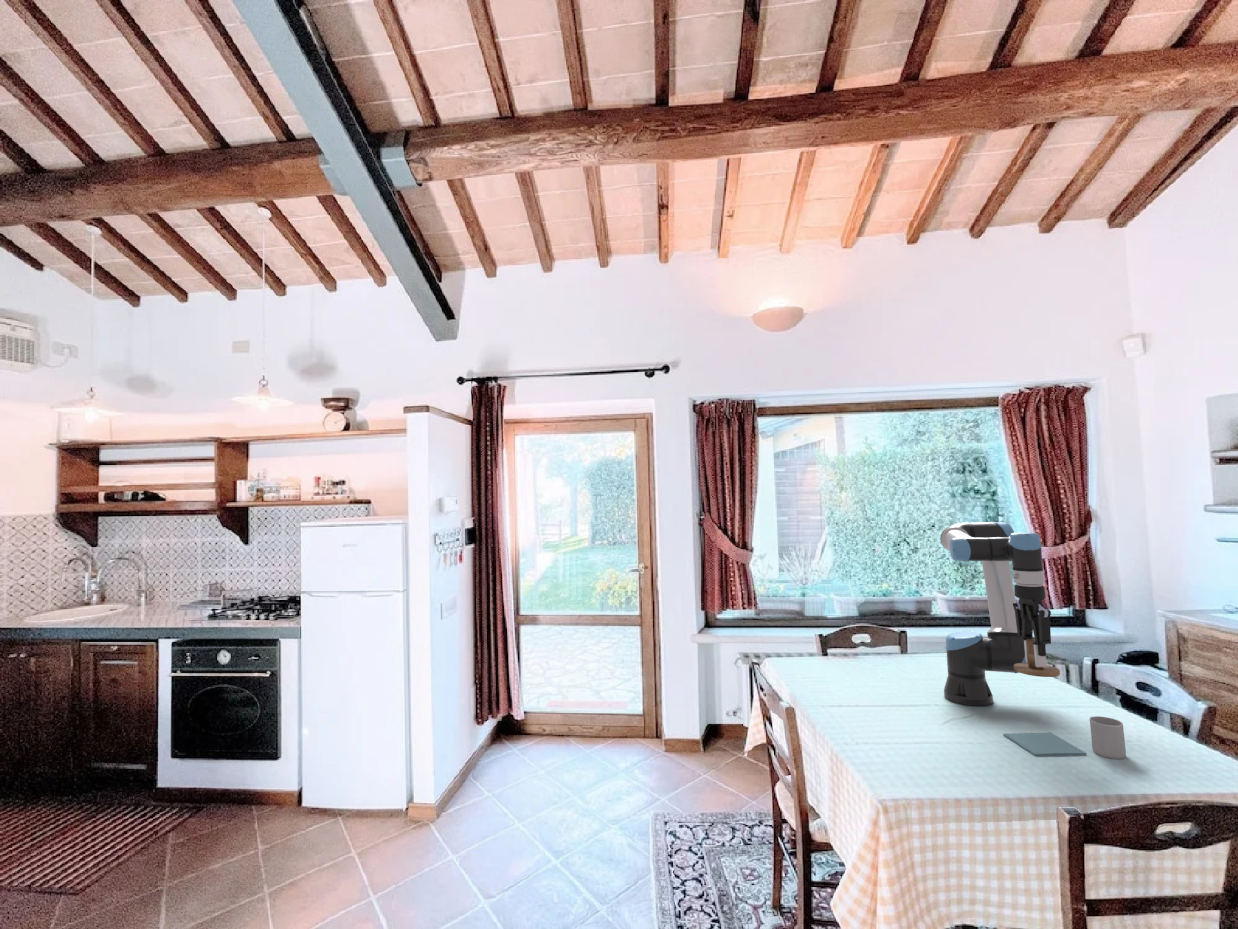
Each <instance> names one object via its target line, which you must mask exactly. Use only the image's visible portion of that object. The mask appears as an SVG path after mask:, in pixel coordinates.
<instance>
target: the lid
mask: <svg viewBox="0 0 1238 929" xmlns="http://www.w3.org/2000/svg"><path fill="white" fill-rule="evenodd" d="M1026 642H1027V653H1028V663H1016V664H1014V670H1015V671H1017V672H1019V673H1018V674H1022V675H1023V674H1024V675H1027V676H1032V677H1041V678H1053V677H1058V676H1060V675H1061V672H1060V671H1061V670H1060V669H1059V668H1058V667H1056V666H1052V665H1048V664H1047V667H1036V666H1035V655H1034V644H1033V643H1035V639H1026Z"/></svg>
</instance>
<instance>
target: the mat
mask: <svg viewBox="0 0 1238 929" xmlns="http://www.w3.org/2000/svg"><path fill="white" fill-rule="evenodd" d="M1003 736H1004V737H1005V738H1007V739H1009V740H1010V741H1011V742H1013V743H1014V744H1016V745H1017V746H1019V747H1021V748H1022V749H1024V750H1025V751H1027V752H1028V753H1029V754H1030V755H1032V756H1034V757H1046V756H1047V757H1048V756H1052V757H1054V756H1055V757H1056V756H1060V757H1061V756H1087V752H1086V751H1084V750H1082V749H1080V748H1078V747H1077V746H1074V745H1073V744H1072V743H1070V742H1068V741H1066V740H1065V739H1063V738H1061V737H1059V736H1057V735H1056V734H1054V733H1052V732H1017V733H1016V732H1012V733H1011V732H1009V733H1007V732H1006V733H1003Z"/></svg>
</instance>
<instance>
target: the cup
mask: <svg viewBox="0 0 1238 929" xmlns="http://www.w3.org/2000/svg"><path fill="white" fill-rule="evenodd" d="M1089 726H1090V728H1089V729H1090V738H1091V747H1092V751H1093V752H1094V753H1095V754H1096V755H1097V756H1100V757H1104V758H1108V759H1113V760H1123V759H1125V758H1126V756H1127V751H1126V742H1125V732H1124V723H1123V722H1122V721H1120V720H1119V719H1115V718H1111V717H1108V716H1098V715H1097V716H1095V715H1094V716H1090V717H1089Z"/></svg>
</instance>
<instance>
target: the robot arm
mask: <svg viewBox="0 0 1238 929" xmlns="http://www.w3.org/2000/svg"><path fill="white" fill-rule="evenodd" d="M939 540H940V544H941V545H942V547H943V548H944V549H946V550H947V552H948V551H949V552H950V556H951V559H952V560H953V561H955V562H981V564H982V570H983V577H984V584H985V590H986V598H987V605H988V606H987V607H988V613H989V621H990V625H991V626H990V628H989V630H988V631H987V632H986V633H987V636H983V635H982V633H981V632H977V631H970V630H969V631H968V630H967V631H965V630H964V631H955V632H952V633H949V634H948V635H947V636H946V638H945V647H944V649H945V651H946V663H947V664H946V665H947V677H946V682H945V685H944V688H943V696H944V698H945V699H947V700H949V701H951V702H953V703H957V704H961V705H967V706H975V707H976V706H978V707H981V706H990V705H992V704H993V703H994V697H993V694H992V691H991V688H990V686H989V684H988V682H987V678H986V672H996V673H997V672H999V673H1010V674H1011V673H1012V674H1013V673H1014V674H1020V673H1019V672H1017V671H1015V670H1014V664H1016V663H1028V653H1027V642H1026V639H1035V643H1033V644H1034V655H1035V666H1036V667H1047V665H1048V664H1047V650H1046V646H1047V645H1051V643H1052V639H1051V638H1052V636H1051V615H1052V611H1051V610H1050V609H1045V608H1044V604H1043V600H1044V599H1046V596H1047V595H1046V587H1045V586H1044V584H1046V583H1045V572H1044V564H1043V554H1042V547H1043V546H1042V543H1041V542H1042V541H1041V537H1040V535H1039V533H1036V532H1029V531H1028V532H1024V531H1023V532H1022V531H1021V532H1015V531H1014V529H1013V528H1012V525H1010V524H1009V523H1008V522H1004V521H1003V522H1002V521H1000V522H999V521H986V522H985V521H984V522H983V521H981V522H961V523H960V522H959V523H955V524H952V525H949V526H948V527H946V528H945V529H943V531H941V534H940V537H939ZM1011 565H1012V569H1011ZM1013 582H1014V583H1013ZM1016 598H1018V602H1017V601H1016Z"/></svg>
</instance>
